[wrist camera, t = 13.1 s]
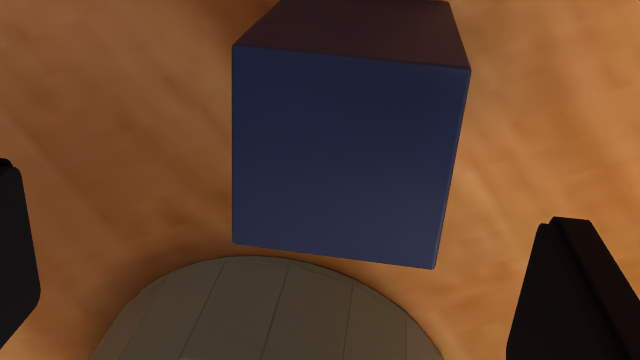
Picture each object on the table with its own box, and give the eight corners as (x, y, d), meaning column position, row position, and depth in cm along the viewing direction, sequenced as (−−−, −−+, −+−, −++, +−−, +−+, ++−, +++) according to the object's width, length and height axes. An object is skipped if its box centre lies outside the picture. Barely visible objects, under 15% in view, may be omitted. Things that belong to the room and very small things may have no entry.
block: (286, 132, 21) (231, 244, 15) (292, -13, 19) (230, 43, 12) (426, 147, 21) (434, 271, 14) (450, 2, 19) (472, 68, 12)
